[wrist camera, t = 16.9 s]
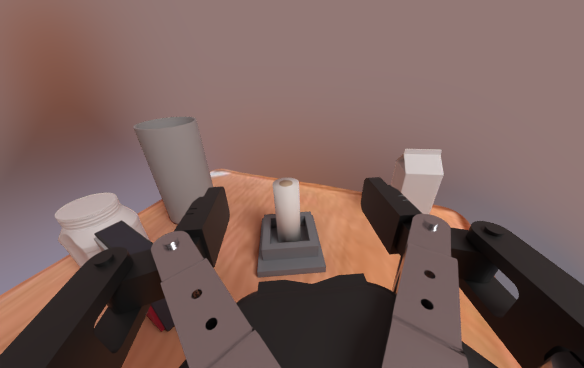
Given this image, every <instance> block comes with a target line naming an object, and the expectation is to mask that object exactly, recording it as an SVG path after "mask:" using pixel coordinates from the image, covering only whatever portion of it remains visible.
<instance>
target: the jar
mask: <svg viewBox="0 0 584 368" xmlns="http://www.w3.org/2000/svg"><path fill="white" fill-rule="evenodd" d="M55 218H56V219H57V221H58V222H59V223H60V225H61V226H62V230H61V232H60V235H59V238H58V241H59V242H60V243H61V245H63V246H64V247H65V249H66V250H67V251H68V252H69V254H70V255H71V256H72V258H73V259H74V260H75V261H76V263H77V264H78V265H79V266H80V268H81V267H82V266H83V265H84V264H85V263H86V262H87V261H88V260H89V259H90V258H91V257H93V256H94V255H96V254H98V253H100V252H102V251H101V249H100V248H99V246H98V245H97V243H96V242H95V240H94V238H95V237H96V236H95V235H94V234H95V233H96V232H98V231H100V230H102V229H104V228H107V227H109V226H111V225H113V224H115V223H117V222H119V221H121V220H122V221H124V222H125V223H126V224H128V225H129V226H130V227H132V228H133V229H134V230H136V231H137V232H138V233H140V234H141V235H142V236H144V237H145V238H146V239H148V240H149V238H148V236H147V234H146V232H145V230H144V228H143V226H142V224H141V222H140V220H139V216H138V214H137V213H135V212H134V211H133V210H132V209H130V208H128V207H126V206H123V205H121V204H120V202H119V200H118V198H117V196H116V195H115V194H113V193H98V194H93V195H89V196H86V197H83V198H79V199H77V200H75V201H72V202H70V203H68V204H66V205H65V206H63V207H61V208H60V209H59V210H58V211H57V212H56V213H55ZM149 241H150V240H149Z"/></svg>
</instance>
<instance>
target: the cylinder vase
mask: <svg viewBox="0 0 584 368" xmlns="http://www.w3.org/2000/svg"><path fill="white" fill-rule="evenodd" d="M134 130H135V132H136V135H137V138H138V140H139V142H140V145H141V147H142V150H143V152H144V155H145V157H146V160H147V162H148V165H149V167H150V170H151V172H152V175H153V177H154V179H155V182H156V184H157V187H158V190H159V192H160V194H161V197H162V199H163V202H164V204H165V207H166V209H167V212H168V214H169V217H170V219H171V221H172V222H174V223H176V224H179V222H180V221H181V219H182V218H183V216H184V215H185V213H186V211H187V210H188V208H189V207H190V205H191V204H192V202H193V201H195V200H196V199H197V198H199V197H203V196H204V195H205V193H206V191H207V189H208V188H209V187H213V184H212V180H211V176H210V172H209V168H208V164H207V160H206V156H205V152H204V148H203V145H202V140H201V136H200V133H199V129H198V125H197V121H196V118H192V117H171V118H162V119H155V120H150V121H146V122H142V123H139V124H137V125H134Z"/></svg>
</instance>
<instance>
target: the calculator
mask: <svg viewBox="0 0 584 368" xmlns="http://www.w3.org/2000/svg"><path fill="white" fill-rule="evenodd" d="M94 235H95V236H96V237H95V238H94V240H95V242H96V243H97V245H98V246H99V248H100V249H101V251H104V250H107V249H109V248H113V247H124V248H126V249H127V251H128V252H129V254H130V255H131V254H135V253H138V252H142V251H145V250H149V249H151V247H152V245H153V243H152V242H150V241H149V240H148V239H146V238H145V237H144V236H142V235H141V234H140V233H138V232H137V231H136V230H134V229H133V228H132V227H130V226H129V225H128V224H126V223H125V222H124V221H122V220H121V221H119V222H117V223H115V224H113V225H111V226H109V227H107V228H104V229H102V230H100V231H98V232H96V233H95V234H94ZM146 315H147V316H148V317H149V318H150V320H151V321H152V322H153V323H154V324H155V325H156V326H157V327H158V328H159V330H160V331H161V332H162V331H163V330H164V329H166V330H167V331H169V330H170V329H171V328H172V327H173V326H174V322H173V319H172V316H171V313H170V310H169V307H168V304H167V301H166V298H164V299H161V300H158V301H156V302H153V303H151V306H150V308H149V310H148V312H147V314H146Z"/></svg>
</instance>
